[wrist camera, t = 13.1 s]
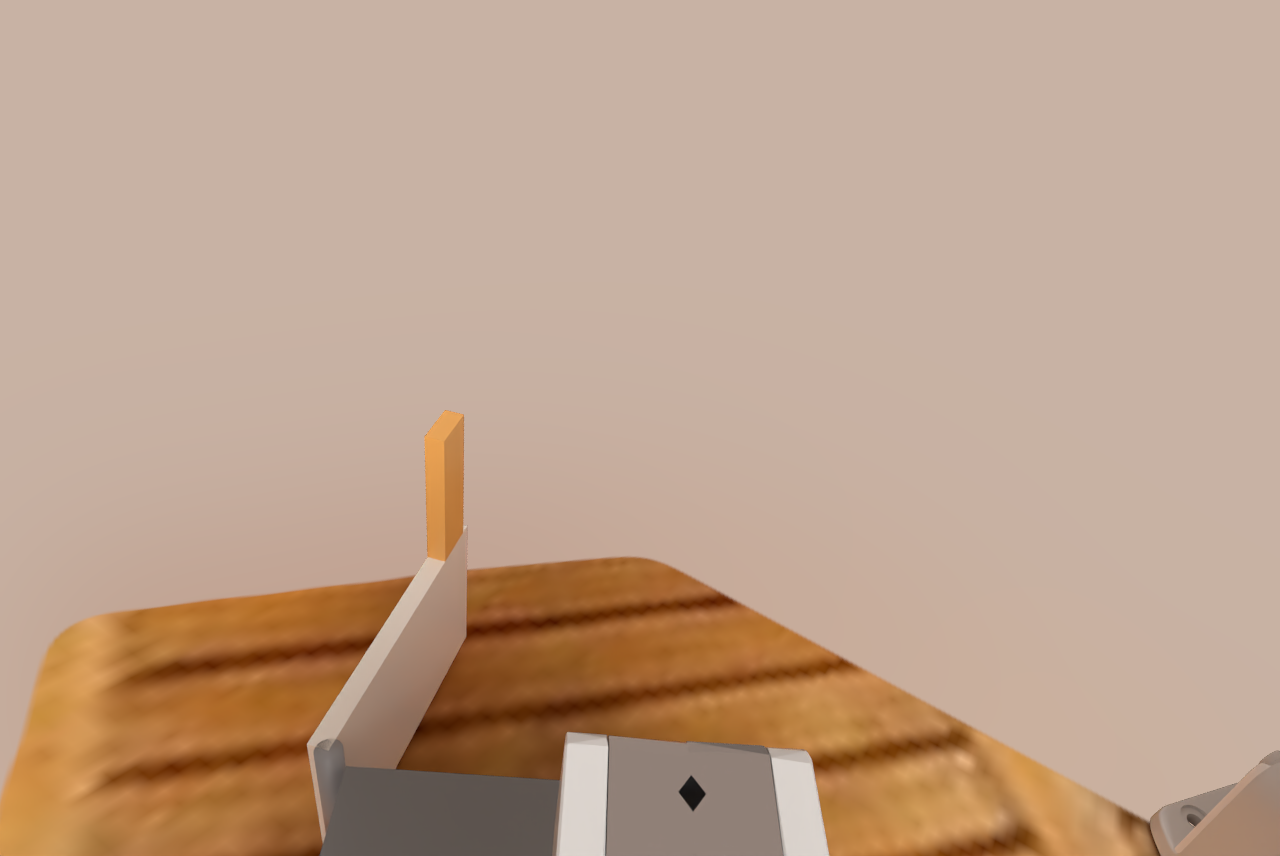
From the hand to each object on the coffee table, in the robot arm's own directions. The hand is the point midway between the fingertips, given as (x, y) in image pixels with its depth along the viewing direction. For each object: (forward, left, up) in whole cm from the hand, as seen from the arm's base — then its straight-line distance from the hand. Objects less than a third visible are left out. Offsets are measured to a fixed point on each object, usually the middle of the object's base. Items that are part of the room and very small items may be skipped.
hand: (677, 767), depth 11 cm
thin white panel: (-4, -25, -34) cm, 42 cm away
